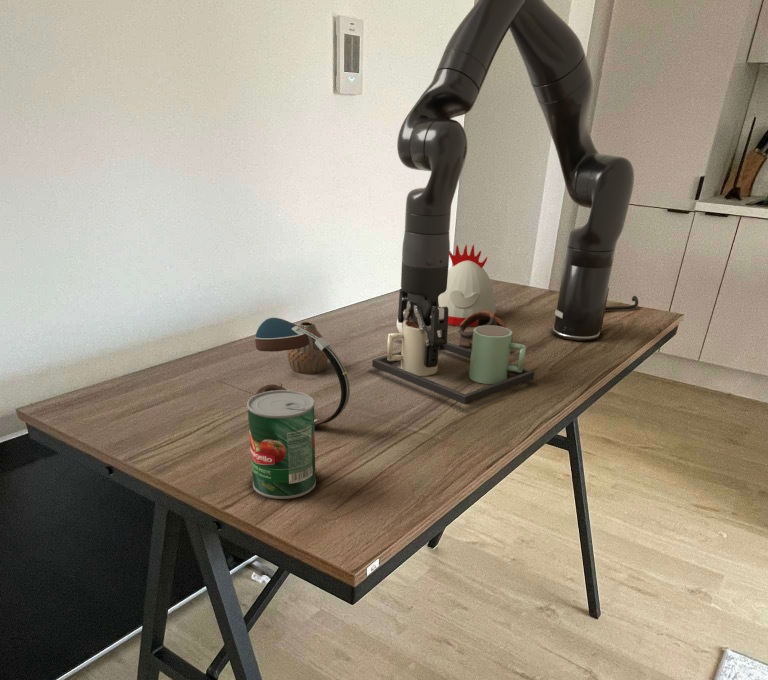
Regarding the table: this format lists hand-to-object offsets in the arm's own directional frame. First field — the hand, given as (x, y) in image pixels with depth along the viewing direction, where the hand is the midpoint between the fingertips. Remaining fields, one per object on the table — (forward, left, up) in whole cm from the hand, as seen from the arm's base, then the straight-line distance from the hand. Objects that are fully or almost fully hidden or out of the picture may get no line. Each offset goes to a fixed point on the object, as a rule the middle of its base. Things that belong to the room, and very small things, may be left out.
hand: (419, 358), depth 121 cm
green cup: (-7, +11, -2) cm, 13 cm away
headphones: (+29, 0, -3) cm, 30 cm away
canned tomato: (+40, +16, -3) cm, 44 cm away
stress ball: (-14, -15, -3) cm, 20 cm away
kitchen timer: (-34, -20, -3) cm, 39 cm away
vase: (+14, -13, -3) cm, 19 cm away
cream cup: (+1, -1, -2) cm, 2 cm away
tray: (-4, +4, -3) cm, 6 cm away
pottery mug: (-21, -3, -3) cm, 21 cm away
